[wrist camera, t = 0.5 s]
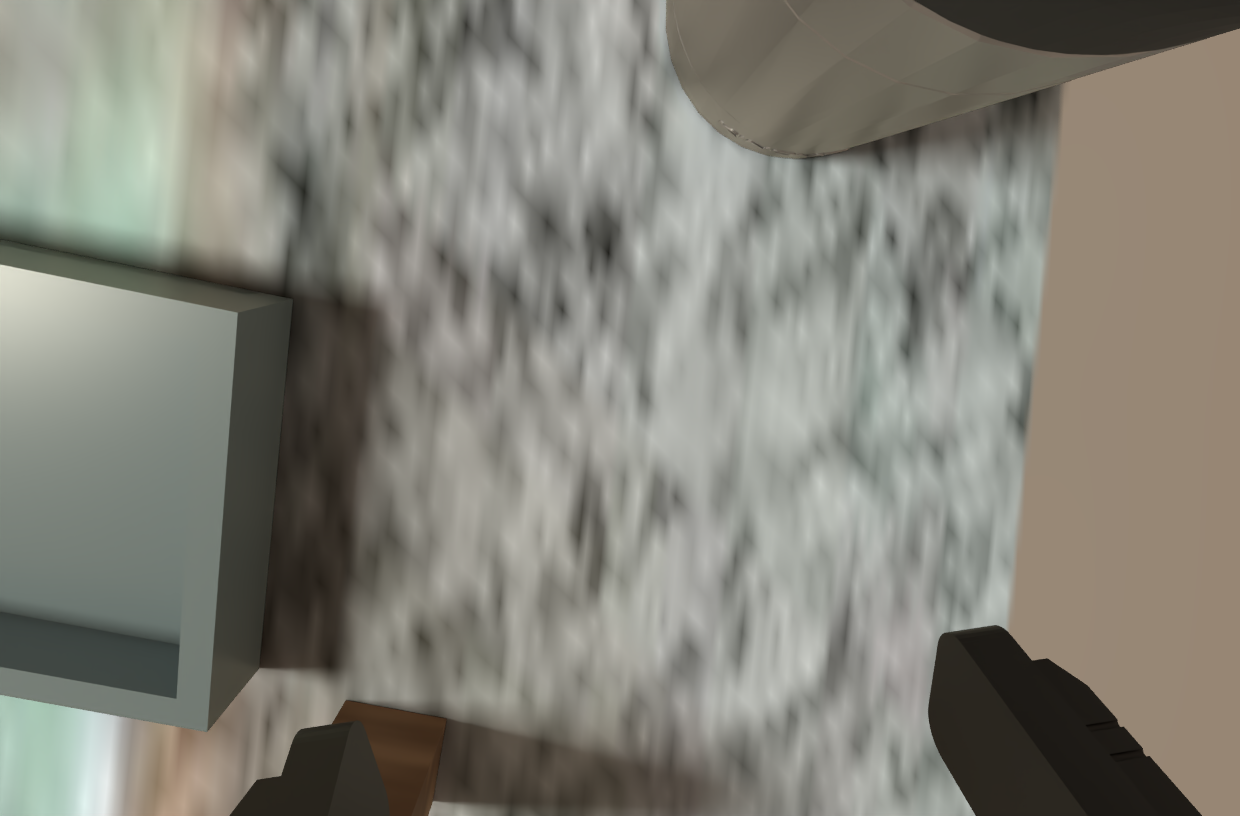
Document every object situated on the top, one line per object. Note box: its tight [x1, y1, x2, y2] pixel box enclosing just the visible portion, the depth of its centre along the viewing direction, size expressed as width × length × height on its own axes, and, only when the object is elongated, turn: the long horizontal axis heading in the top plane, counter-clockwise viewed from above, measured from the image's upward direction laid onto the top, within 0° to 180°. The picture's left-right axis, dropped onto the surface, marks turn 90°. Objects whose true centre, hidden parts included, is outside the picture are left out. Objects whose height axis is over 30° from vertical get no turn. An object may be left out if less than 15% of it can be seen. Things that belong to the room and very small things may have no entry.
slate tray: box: [0, 239, 293, 732], centre depth 27 cm, size 16×16×4 cm
